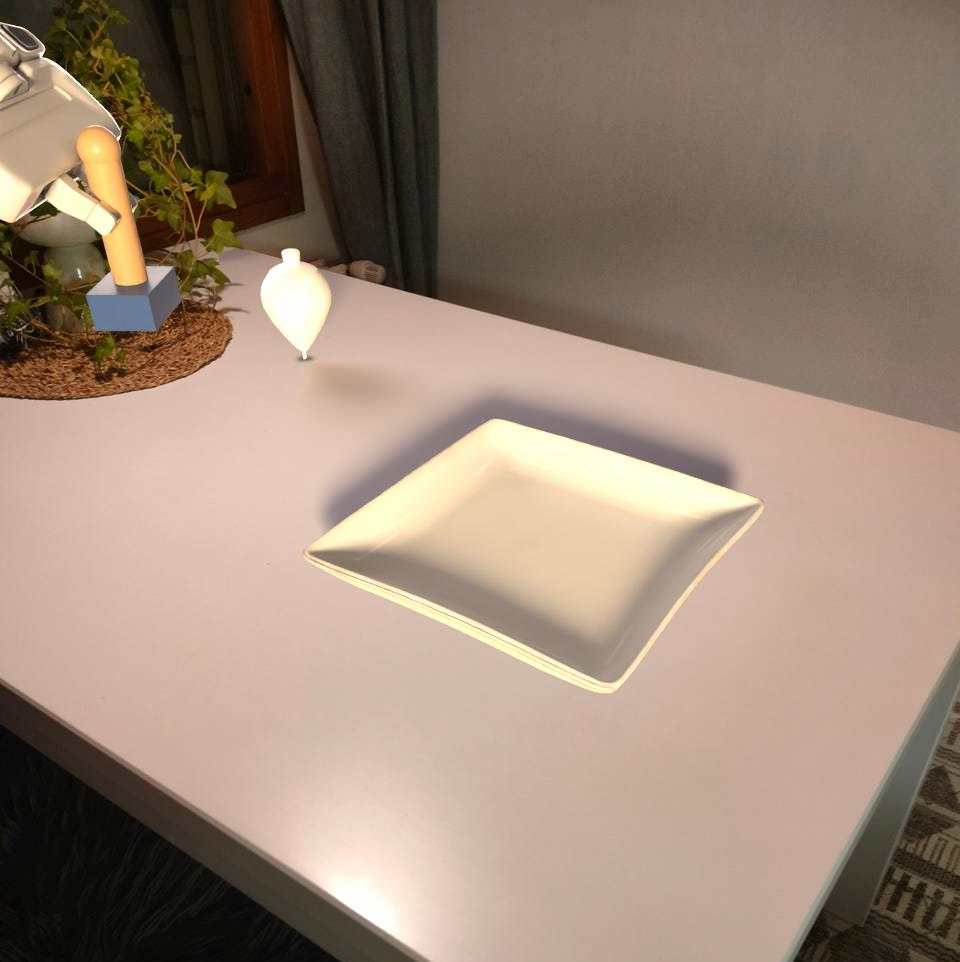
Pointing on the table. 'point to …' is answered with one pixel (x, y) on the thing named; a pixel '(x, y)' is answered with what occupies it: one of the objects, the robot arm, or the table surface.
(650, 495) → the square plate
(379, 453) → the table surface
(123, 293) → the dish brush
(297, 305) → the spinning top
